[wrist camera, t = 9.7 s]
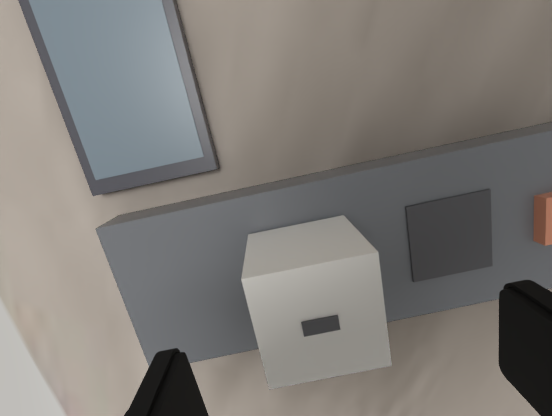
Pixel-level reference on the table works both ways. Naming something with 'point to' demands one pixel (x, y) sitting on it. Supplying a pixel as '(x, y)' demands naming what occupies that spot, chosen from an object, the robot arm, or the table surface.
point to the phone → (123, 89)
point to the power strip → (364, 217)
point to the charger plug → (315, 301)
